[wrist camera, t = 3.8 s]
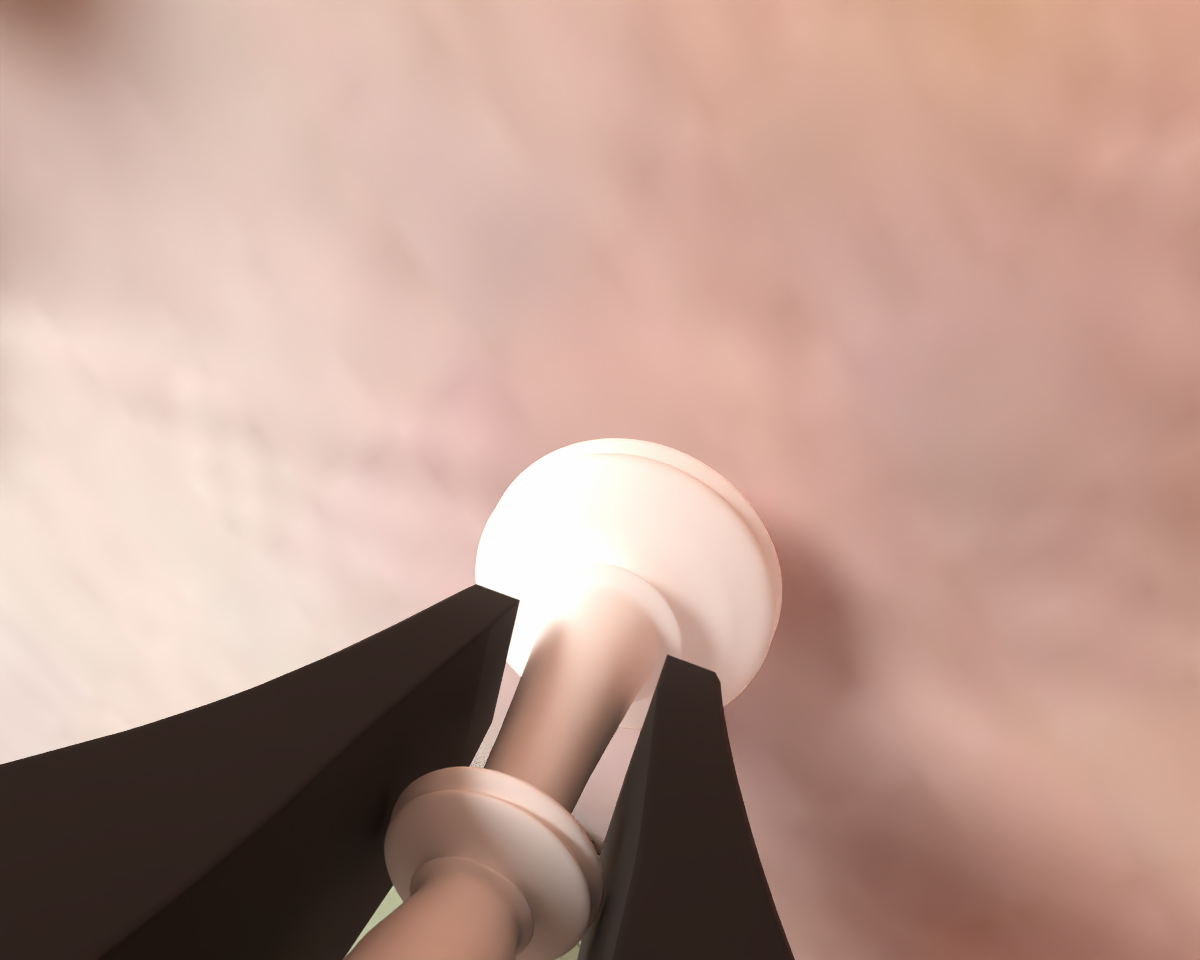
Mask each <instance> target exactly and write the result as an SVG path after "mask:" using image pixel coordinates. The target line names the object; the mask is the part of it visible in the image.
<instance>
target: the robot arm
mask: <svg viewBox="0 0 1200 960" xmlns="http://www.w3.org/2000/svg"><path fill="white" fill-rule="evenodd" d="M519 603H520V600H518V599H516V598H513V597H510V596H508V595H505V594H502V593H499V592H497V591H494V590H491V589H489V588H486V587H483V586H480V585H478V584H475V585H473V586H471V587H469V588H467V589H465V590H463V591H461V592H458V593H456V594H454V595H452V596H450V597H448V598H446V599H444V600H442V601H441V602H439V603H437V604H435V605H433V606H431V607H429V608H427V609H425V610H423V611H421V612H419V613H417V614H415V615H413V616H411V617H409V618H407V619H405V620H403V621H401V622H399V623H397V624H395V625H393V626H391V627H389V628H387V629H385V630H383V631H381V632H379V633H376V634H374V635H372V636H370V637H368V638H366V639H364V640H362V641H360V642H358V643H355V644H353V645H351V646H349V647H347V648H345V649H343V650H341V651H339V652H336V653H334V654H332V655H330V656H327V657H325V658H323V659H321V660H318V661H316V662H314V663H311V664H309V665H306V666H304V667H302V668H299V669H297V670H294V671H292V672H290V673H287V674H285V675H283V676H280V677H278V678H275V679H273V680H271V681H268V682H266V683H264V684H261V685H259V686H256V687H254V688H251V689H248V690H246V691H243V692H241V693H238V694H235V695H232V696H230V697H227V698H224V699H221V700H219V701H216V702H213V703H210V704H207V705H204V706H201V707H198V708H195V709H192V710H189V711H186V712H183V713H180V714H177V715H174V716H171V717H168V718H165V719H162V720H159V721H156V722H153V723H150V724H147V725H143V726H140V727H137V728H133V729H130V730H127V731H124V732H120V733H116V734H112V735H109V736H105V737H101V738H98V739H94V740H90V741H86V742H83V743H79V744H75V745H72V746H68V747H64V748H61V749H57V750H53V751H49V752H46V753H42V754H38V755H35V756H31V757H27V758H24V759H20V760H16V761H12V762H9V763H5V764H1V765H0V960H343V959H344V958H345V956H346V955H347V953H348V952H349V950H350V949H351V947H352V946H353V944H354V943H355V941H356V940H357V938H358V937H359V935H360V934H361V932H362V931H363V929H364V928H365V926H366V925H367V924H368V922H369V921H370V919H371V918H372V916H373V915H374V913H375V912H376V910H377V909H378V907H379V906H380V904H381V903H382V901H383V900H384V898H385V897H386V895H387V894H388V892H389V891H390V889H391V888H392V886H393V883H392V881H391V879H390V876H389V873H388V870H387V867H386V862H385V855H384V842H385V836H386V832H387V829H388V826H389V824H390V820H391V815H392V811H393V808H394V806H395V803H396V801H397V800H398V798H399V796H400V795H401V793H402V792H403V791H404V790H405V789H406V788H407V787H408V786H409V785H410V784H411V783H412V782H413V781H415V780H416V779H418V778H420V777H421V776H423V775H425V774H428V773H430V772H433V771H436V770H439V769H444V768H450V767H469V766H470V764H471V762H472V760H473V758H474V756H475V755H476V753H477V751H478V749H479V747H480V745H481V743H482V741H483V739H484V737H485V735H486V733H487V731H488V729H489V727H490V725H491V723H492V720H493V716H494V711H495V707H496V703H497V698H498V694H499V690H500V685H501V681H502V677H503V672H504V668H505V664H506V659H507V655H508V651H509V646H510V642H511V638H512V633H513V629H514V624H515V620H516V616H517V611H518V607H519ZM599 859H600V862H601V865H602V869H603V874H604V883H605V889H604V898H603V903H602V906H601V909H600V911H599V914H598V916H597V917H596V919H595V921H594V922H593V923H592V925H591V926H590V927H589V928H588V929H587V930H586V932H585V934H584V936H583V938H582V940H581V944H580V949H579V953H578V958H577V960H795V959H794V956H793V954H792V951H791V948H790V946H789V943H788V940H787V938H786V935H785V932H784V929H783V926H782V924H781V921H780V918H779V915H778V913H777V910H776V907H775V904H774V901H773V898H772V895H771V892H770V889H769V886H768V883H767V880H766V877H765V874H764V871H763V868H762V865H761V862H760V858H759V855H758V852H757V848H756V845H755V842H754V838H753V835H752V832H751V828H750V824H749V821H748V817H747V813H746V809H745V806H744V802H743V798H742V794H741V791H740V787H739V783H738V779H737V775H736V771H735V766H734V762H733V758H732V753H731V748H730V743H729V738H728V733H727V728H726V722H725V716H724V709H723V702H722V693H721V682H720V680H719V678H718V677H717V675H716V673H715V672H714V671H711V670H708V669H706V668H703V667H700V666H697V665H695V664H692V663H689V662H687V661H684V660H681V659H678V658H676V657H673V656H670V655H668V654H667V656H666V659H665V662H664V665H663V668H662V671H661V674H660V677H659V680H658V683H657V685H656V688H655V691H654V694H653V697H652V700H651V703H650V706H649V709H648V712H647V715H646V717H645V720H644V723H643V726H642V729H641V732H640V735H639V738H638V741H637V744H636V747H635V749H634V752H633V755H632V758H631V761H630V764H629V767H628V770H627V773H626V776H625V779H624V782H623V785H622V788H621V791H620V794H619V797H618V800H617V804H616V807H615V810H614V813H613V816H612V819H611V822H610V825H609V828H608V832H607V835H606V838H605V841H604V844H603V847H602V850H601V854H600V858H599Z"/></svg>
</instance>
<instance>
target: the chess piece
mask: <svg viewBox="0 0 1200 960" xmlns="http://www.w3.org/2000/svg"><path fill="white" fill-rule="evenodd" d="M476 584H478V585H480V586H483V587H486V588H489V589H491V590H494V591H497V592H499V593H502V594H505V595H508V596H510V597H513V598H516V599H518V600H520V603H519V607H518V611H517V616H516V620H515V624H514V629H513V633H512V638H511V642H510V646H509V651H508V655H507V659H506V661H507V662H508V663H509V665H510V666H511V667H512V668H513V669H514V670H515V672H516V673H517V674H518V675H519V676H520V677H521V679H520V681H519V684H518V687H517V689H516V692H515V694H514V697H513V700H512V702H511V704H510V707H509V709H508V712H507V714H506V717H505V719H504V722H503V725H502V727H501V730H500V732H499V735H498V737H497V739H496V741H495V743H494V746H493V748H492V750H491V752H490V755H489V757H488V759H487V762H486V764H485V766H484V768H478V767H450V768H444V769H439V770H436V771H433V772H430V773H428V774H425V775H423V776H421V777H420V778H418V779H416V780H415V781H413V782H412V783H411V784H410V785H409V786H408V787H407V788H406V789H405V790H404V791H403V792H402V793H401V795H400V796H399V798H398V800H397V801H396V803H395V806H394V808H393V811H392V815H391V820H390V824H389V826H388V829H387V832H386V836H385V842H384V855H385V862H386V867H387V870H388V873H389V876H390V879H391V881H392V883H393V885H394V887H395V889H396V891H397V893H398V894H399V896H400V897H401V899H402V900H403V903H402V904H401V905H400V906H399V907H397V908H396V909H395V910H394V911H393V912H392V913H390V914H389V915H388V916H387V917H385V918H384V919H383V920H382V921H380V922H379V923H378V924H377V925H376V926H374V927H373V928H372V929H371V930H370V931H369V932H368V933H367V934H366V935H365V936H364V937H363V938H362V939H361V940H360V941H359V942H358V943H357V945H356V946H355V947H354V948H353V949H352V950H351V951H350V953H349V954H348V955H347V956H346V957H345V958H344V959H343V960H554V959H556V958H559V957H561V956H563V955H564V954H566V953H568V952H569V951H570V950H572V949H573V948H574V947H575V946H576V945H577V944H578V943H579V942H580V940H581V939H582V938H583V936H584V934H585V932H586V930H587V929H588V928H589V927H590V926H591V925H592V923H593V922H594V921H595V919H596V917H597V916H598V914H599V911H600V909H601V906H602V903H603V898H604V889H605V883H604V874H603V869H602V865H601V862H600V859H599V856H598V853H597V851H596V849H595V847H594V845H593V843H592V841H591V840H590V838H589V836H588V835H587V833H586V832H585V831H584V829H583V828H582V827H581V825H580V824H579V823H578V822H577V820H576V819H575V818H574V817H573V816H572V815H571V813H572V811H573V809H574V807H575V805H576V803H577V801H578V799H579V797H580V795H581V793H582V791H583V789H584V787H585V785H586V783H587V781H588V779H589V777H590V775H591V774H592V772H593V770H594V769H595V767H596V765H597V763H598V762H599V760H600V758H601V756H602V754H603V753H604V751H605V749H606V747H607V745H608V744H609V742H610V740H611V739H612V737H613V735H614V734H615V732H616V730H617V728H618V727H619V728H627V729H642V726H643V723H644V720H645V717H646V715H647V712H648V709H649V706H650V703H651V700H652V697H653V694H654V691H655V688H656V685H657V683H658V680H659V677H660V674H661V671H662V668H663V665H664V662H665V659H666V656H667V654H668V655H670V656H673V657H676V658H678V659H681V660H684V661H687V662H689V663H692V664H695V665H697V666H700V667H703V668H706V669H708V670H711V671H714V672H715V673H716V675H717V677H718V678H719V680H720V682H721V693H722V702H723V707H724V706H725V705H727V704H728V703H729V702H731V701H732V700H733V699H734V698H736V697H737V696H738V695H739V694H740V693H741V692H742V691H743V690H744V689H745V688H746V687H747V686H748V684H749V683H750V682H751V681H752V679H753V678H754V677H755V675H756V674H757V672H758V671H759V669H760V667H761V666H762V664H763V662H764V660H765V658H766V655H767V653H768V650H769V647H770V644H771V641H772V639H773V636H774V634H775V631H776V628H777V625H778V621H779V617H780V612H781V604H782V578H781V571H780V566H779V561H778V557H777V554H776V551H775V548H774V545H773V542H772V540H771V538H770V535H769V533H768V531H767V529H766V527H765V525H764V524H763V522H762V520H761V519H760V517H759V516H758V514H757V513H756V511H755V510H754V508H753V507H752V506H751V504H750V503H749V502H748V501H747V499H746V498H745V497H744V496H743V495H742V494H741V493H740V492H739V491H738V490H737V489H736V488H735V487H734V486H733V485H732V484H731V483H730V482H729V481H728V480H726V479H725V478H724V477H723V476H722V475H720V474H719V473H718V472H716V471H715V470H713V469H712V468H710V467H709V466H707V465H706V464H704V463H702V462H701V461H699V460H697V459H695V458H693V457H691V456H689V455H687V454H685V453H683V452H680V451H678V450H675V449H673V448H670V447H667V446H664V445H660V444H656V443H652V442H647V441H642V440H635V439H623V438H608V439H596V440H590V441H584V442H580V443H576V444H572V445H569V446H566V447H564V448H561V449H559V450H556V451H554V452H552V453H550V454H548V455H546V456H544V457H543V458H541V459H539V460H538V461H536V462H535V463H533V464H532V465H531V466H530V467H528V468H527V469H526V470H525V471H524V472H522V473H521V474H520V475H519V476H518V477H517V478H516V479H515V481H514V482H513V483H512V484H511V485H510V486H509V488H508V489H507V490H506V492H505V493H504V495H503V496H502V498H501V500H500V502H499V503H498V505H497V507H496V508H495V510H494V512H493V513H492V515H491V517H490V518H489V520H488V522H487V524H486V527H485V529H484V531H483V534H482V537H481V540H480V544H479V548H478V553H477V560H476Z"/></svg>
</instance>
